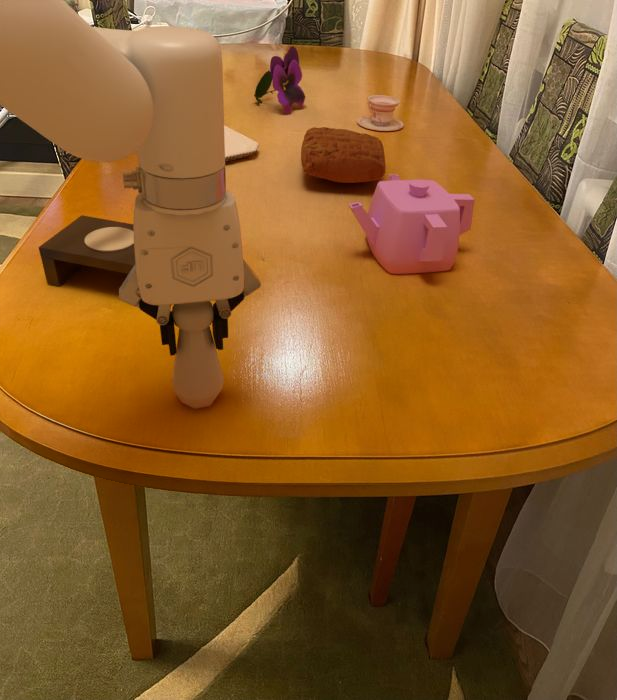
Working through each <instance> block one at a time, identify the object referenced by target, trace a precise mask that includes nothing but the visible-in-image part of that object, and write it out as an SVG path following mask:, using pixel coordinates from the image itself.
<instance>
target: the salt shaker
mask: <svg viewBox="0 0 617 700" xmlns="http://www.w3.org/2000/svg"><path fill="white" fill-rule="evenodd" d="M171 311H172V317H173V321H174V326H175V327H177V328H178V335H177V341H176V349H177V354H175V355H174V363H173V371H172V378H171V383H172V388H173V391H174V394H175V395H176V396H177V398H178V400H179V401H180V402H181V403H182V404H183V405H186V406H187V407H190V408H192V409H194V410H196V409H201V408H208V407H211V406H212V405H213V403H214V401H216V399H217V397H218V396H219V395H220V393H221V391H222V389H223V386H224V384H225V377H224V373H223V369H222V366H221V362H220V358H219V355H218V352H217V349H216V346H215V342H214V338H213V332H212V330H211V329H212V328H211V326H212V321H213V319H214V309H213V303H212V301H204V302H194V303H183V304H172V306H171Z"/></svg>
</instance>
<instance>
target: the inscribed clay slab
mask: <svg viewBox="0 0 617 700" xmlns="http://www.w3.org/2000/svg"><path fill="white" fill-rule="evenodd" d="M384 148H385V147H384V145H383V142H382V140H381V139H379V138H378V137H376V136H374V135H371V134H369V133H363V132H362V133H361V132H356V131H353V130H350V129H344V128H333V127H327V126H323V127H313V126H312V127H311V128H309V129H307V130H306V132H305V134H304V136H303V140H302V143H301V148H300V162H301V167H302V170H303V172H304V173H305V174H307V175H309V176H311V177H312V176H313V177H316V178H319V179H324V180H328V181H332V182H337V183H343V184H344V183H345V184H347V183H348V184H352V183H353V184H354V183H355V184H356V183H368V182H374V181H377V180H380V179H382V178H384V176H385V174H386V155H385V149H384Z"/></svg>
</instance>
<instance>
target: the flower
mask: <svg viewBox="0 0 617 700" xmlns="http://www.w3.org/2000/svg"><path fill="white" fill-rule="evenodd" d="M302 78H303V72H302V68H301V65H300V57H299V53H298V50H297V48H296V47H295V46H294V45H293V46H290V47H289V49H288V50H287V52H286V54H285V55H284V57H283V59H282V58H281V57H280V56H278V55H273V56H272V57H271V58H270V62H269V70H268V71H266V72H265V73H264V74H263V75H262V76H261V78H260V79H259V81H258V82H257V85H256V87H255V90H254V94H253V96H254V98H255V100H256V101H257V102H258V103H259V104H263V100H261V98H263V97H264V96H266V95H267V94H269V93H270V94H274V92H277V94H276V97H277V101H278V103H279V104H281V106H283V113H284V115H291V114H292V109H293V105H294V104H297V106H299V107H300V108H301V109H303V107H304V103H305V100H306V94H305V91H304V90H303V89H302V87H301V86H300V85H299V83H300V82H301V81H302ZM271 86H272V88H273V90H270V87H271ZM269 90H270V91H269Z"/></svg>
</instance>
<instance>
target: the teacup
mask: <svg viewBox="0 0 617 700" xmlns="http://www.w3.org/2000/svg"><path fill="white" fill-rule="evenodd" d="M366 99H367V102H366V104H367V109H368V111H369V113H370V114H371V115H368V114H367V115H363V116H360V117H359V118H357V120H356V122H357V125H359V126H360V127H362V128H365V129H368V130H371V131H379V132H393V131H395V132H396V131H398V130H401V129H404V126H405V123H404V122H403V121H402V120H400V119H398V118H395V117H393V115H394V112H395V110H396V108H397V107H398V106H399V104H400V103H401V99H399V98H396V97H394V96H390V95H385V94H375V95H374V94H373V95H369V96H368V97H367V98H366Z"/></svg>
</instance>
